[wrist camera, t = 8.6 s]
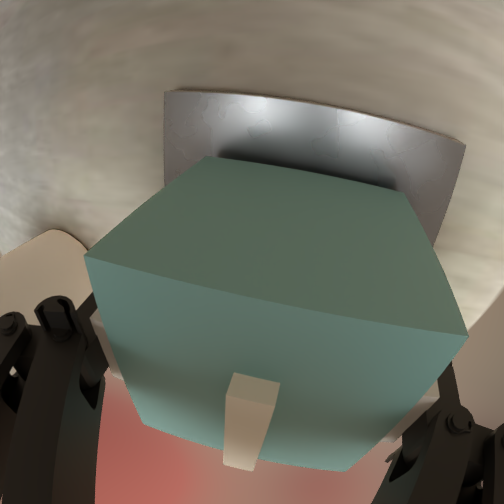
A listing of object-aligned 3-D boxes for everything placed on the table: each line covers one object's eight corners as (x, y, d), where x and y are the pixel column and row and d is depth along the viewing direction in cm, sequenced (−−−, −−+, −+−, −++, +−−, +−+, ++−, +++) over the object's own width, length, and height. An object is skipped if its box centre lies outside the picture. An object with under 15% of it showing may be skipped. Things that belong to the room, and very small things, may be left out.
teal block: (206, 156, 11) (65, 272, 5) (404, 192, 10) (477, 361, 4) (204, 304, 15) (137, 436, 9) (352, 335, 14) (343, 486, 8)
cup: (38, 284, 22) (-45, 379, 13) (26, 195, 17) (-100, 295, 7) (120, 333, 22) (41, 456, 12) (123, 244, 17) (-15, 403, 7)
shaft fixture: (175, 89, 12) (80, 111, 7) (457, 139, 10) (533, 194, 5) (180, 301, 18) (134, 378, 14) (377, 344, 17) (379, 435, 12)
